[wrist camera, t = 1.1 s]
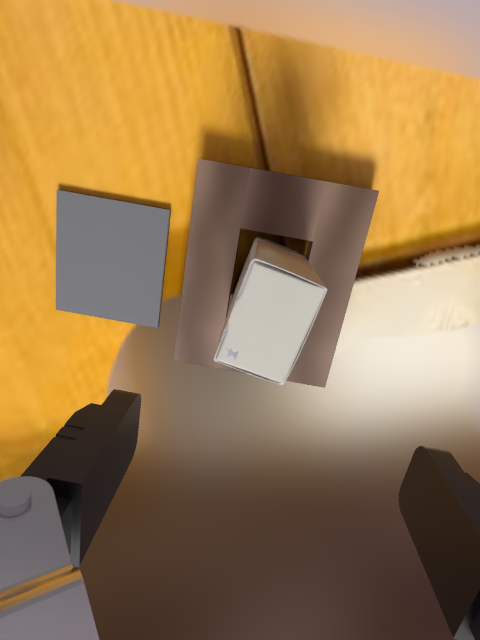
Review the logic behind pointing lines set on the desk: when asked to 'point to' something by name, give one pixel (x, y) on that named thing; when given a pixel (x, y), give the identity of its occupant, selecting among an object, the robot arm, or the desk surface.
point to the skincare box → (270, 312)
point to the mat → (110, 258)
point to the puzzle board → (280, 219)
